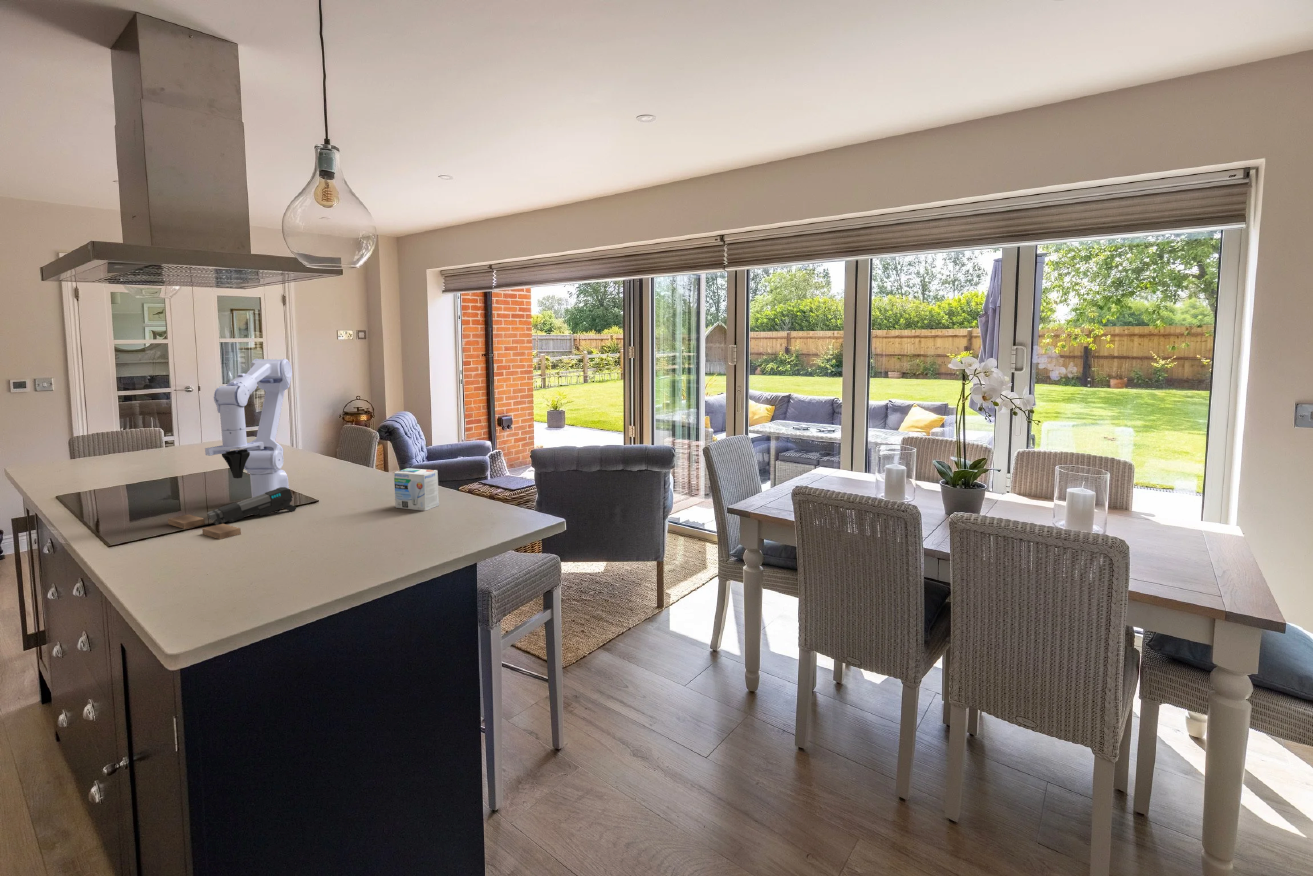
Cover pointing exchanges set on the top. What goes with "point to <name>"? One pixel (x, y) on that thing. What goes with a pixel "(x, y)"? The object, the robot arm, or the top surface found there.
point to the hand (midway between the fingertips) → (237, 477)
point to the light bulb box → (416, 489)
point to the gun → (254, 506)
